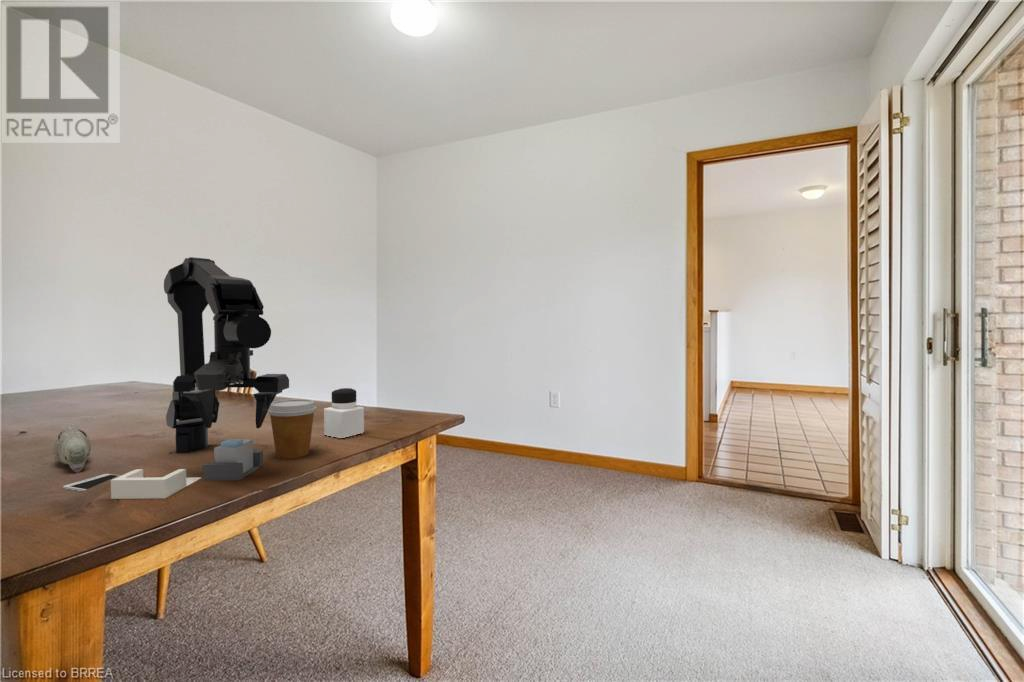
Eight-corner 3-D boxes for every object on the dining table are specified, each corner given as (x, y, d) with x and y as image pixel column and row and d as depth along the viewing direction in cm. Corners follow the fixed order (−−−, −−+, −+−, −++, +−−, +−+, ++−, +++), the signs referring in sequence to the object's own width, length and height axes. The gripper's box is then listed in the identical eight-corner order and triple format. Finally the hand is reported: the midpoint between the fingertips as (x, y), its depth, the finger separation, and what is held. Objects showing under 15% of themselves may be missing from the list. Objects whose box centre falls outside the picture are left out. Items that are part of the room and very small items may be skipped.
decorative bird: (58, 477, 89) (57, 437, 89) (52, 459, 100) (51, 424, 100) (96, 470, 93) (95, 433, 93) (86, 454, 104) (85, 420, 104)
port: (154, 482, 87) (154, 461, 87) (202, 481, 87) (201, 461, 87) (111, 503, 77) (110, 480, 77) (165, 502, 77) (164, 479, 77)
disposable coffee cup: (326, 453, 106) (325, 400, 105) (295, 466, 97) (295, 407, 96) (290, 450, 109) (289, 397, 108) (257, 462, 99) (256, 405, 99)
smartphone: (125, 501, 79) (125, 495, 79) (61, 490, 83) (61, 485, 83) (167, 487, 86) (167, 481, 86) (106, 477, 90) (106, 473, 90)
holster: (230, 468, 95) (230, 450, 95) (263, 468, 95) (263, 450, 95) (203, 484, 86) (202, 464, 86) (239, 484, 86) (239, 464, 86)
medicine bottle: (364, 434, 124) (364, 388, 123) (341, 439, 118) (341, 391, 117) (346, 430, 128) (346, 386, 127) (323, 435, 122) (323, 389, 121)
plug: (232, 467, 93) (231, 435, 93) (253, 467, 94) (252, 435, 93) (214, 477, 87) (214, 444, 87) (237, 477, 88) (236, 443, 87)
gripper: (150, 348, 81) (152, 438, 82) (263, 349, 82) (264, 438, 83) (191, 344, 92) (192, 424, 93) (289, 345, 93) (290, 424, 94)
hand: (233, 427), depth 90 cm, fingers open, 9 cm apart
